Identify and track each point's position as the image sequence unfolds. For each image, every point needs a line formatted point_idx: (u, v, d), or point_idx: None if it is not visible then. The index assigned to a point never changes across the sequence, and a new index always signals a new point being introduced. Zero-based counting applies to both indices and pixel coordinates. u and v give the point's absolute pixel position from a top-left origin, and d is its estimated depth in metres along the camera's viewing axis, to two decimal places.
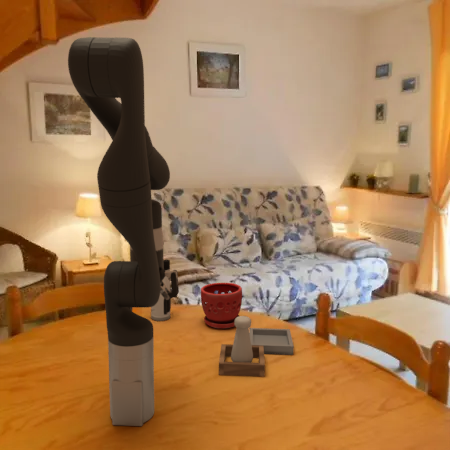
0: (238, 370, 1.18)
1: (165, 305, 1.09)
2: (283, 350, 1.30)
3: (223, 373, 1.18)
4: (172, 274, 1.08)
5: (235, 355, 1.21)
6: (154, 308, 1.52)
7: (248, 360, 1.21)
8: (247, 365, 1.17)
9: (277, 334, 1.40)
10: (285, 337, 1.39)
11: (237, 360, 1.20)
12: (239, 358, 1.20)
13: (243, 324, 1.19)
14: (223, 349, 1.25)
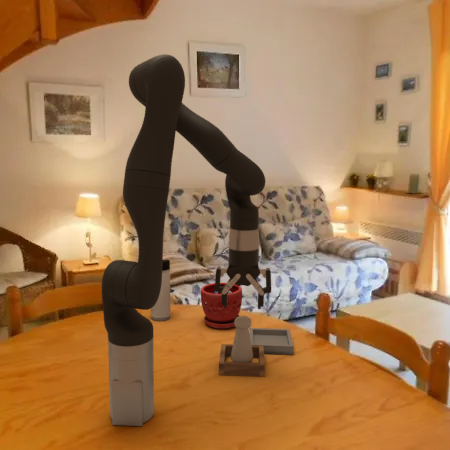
0: (238, 370, 1.18)
1: (259, 300, 1.19)
2: (283, 350, 1.30)
3: (223, 373, 1.18)
4: (267, 271, 1.18)
5: (235, 355, 1.21)
6: (154, 308, 1.52)
7: (248, 360, 1.21)
8: (247, 365, 1.17)
9: (277, 334, 1.40)
10: (285, 337, 1.39)
11: (237, 360, 1.20)
12: (239, 358, 1.20)
13: (243, 324, 1.19)
14: (223, 349, 1.25)
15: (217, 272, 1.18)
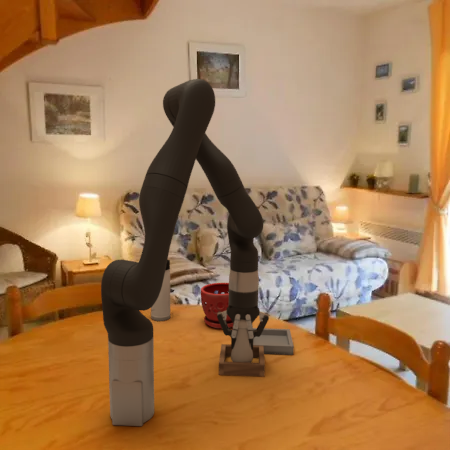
0: (238, 370, 1.18)
1: (249, 343, 1.21)
2: (283, 350, 1.30)
3: (223, 373, 1.18)
4: (266, 317, 1.20)
5: (235, 355, 1.21)
6: (154, 308, 1.52)
7: (248, 360, 1.21)
8: (247, 365, 1.17)
9: (277, 334, 1.40)
10: (285, 337, 1.39)
11: (237, 360, 1.20)
12: (239, 358, 1.20)
13: (243, 324, 1.19)
14: (223, 349, 1.25)
15: (219, 318, 1.20)
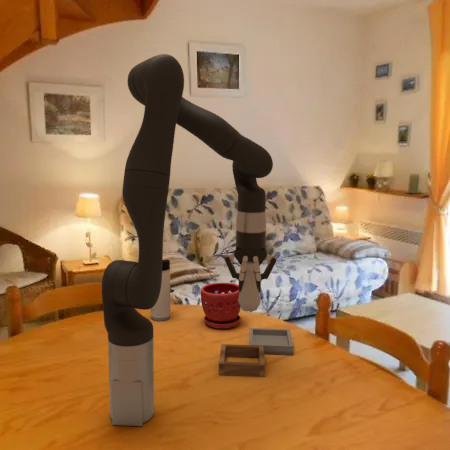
0: (238, 370, 1.18)
1: (257, 286, 1.21)
2: (283, 350, 1.30)
3: (223, 373, 1.18)
4: (273, 259, 1.20)
5: (243, 297, 1.21)
6: (154, 308, 1.52)
7: (256, 303, 1.21)
8: (247, 365, 1.17)
9: (277, 334, 1.40)
10: (285, 337, 1.39)
11: (245, 303, 1.21)
12: (246, 301, 1.20)
13: (250, 266, 1.19)
14: (223, 349, 1.25)
15: (226, 260, 1.20)
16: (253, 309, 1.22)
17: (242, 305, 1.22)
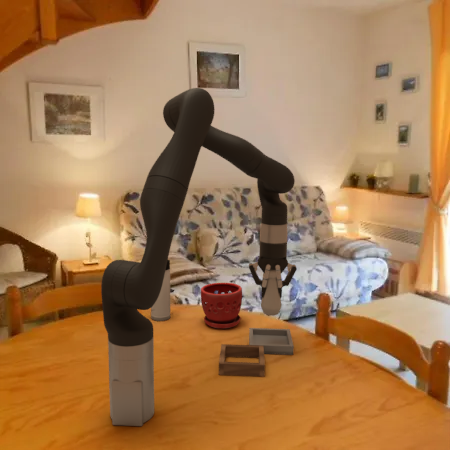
0: (238, 370, 1.18)
1: (278, 292, 1.32)
2: (283, 350, 1.30)
3: (223, 373, 1.18)
4: (294, 267, 1.30)
5: (266, 302, 1.31)
6: (154, 308, 1.52)
7: (277, 307, 1.31)
8: (247, 365, 1.17)
9: (277, 334, 1.40)
10: (285, 337, 1.39)
11: (267, 307, 1.31)
12: (269, 306, 1.31)
13: (273, 274, 1.30)
14: (223, 349, 1.25)
15: (250, 268, 1.31)
16: (275, 313, 1.32)
17: (265, 309, 1.32)
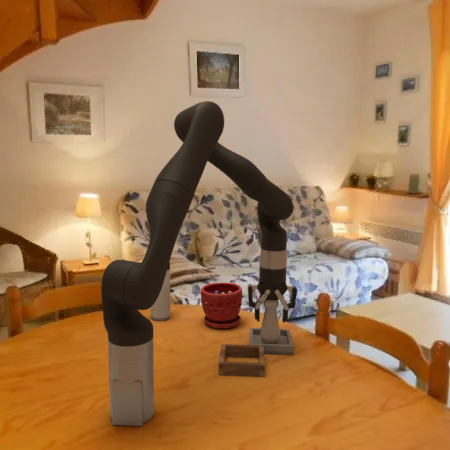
0: (238, 370, 1.18)
1: (284, 314, 1.33)
2: (283, 350, 1.30)
3: (223, 373, 1.18)
4: (294, 289, 1.31)
5: (264, 333, 1.33)
6: (154, 308, 1.52)
7: (276, 337, 1.33)
8: (247, 365, 1.17)
9: None
10: (285, 337, 1.39)
11: (266, 337, 1.33)
12: (268, 336, 1.32)
13: (271, 305, 1.31)
14: (223, 349, 1.25)
15: (249, 289, 1.32)
16: (274, 343, 1.34)
17: (264, 339, 1.34)
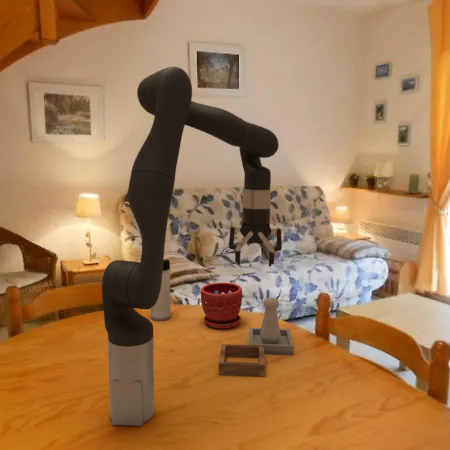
0: (238, 370, 1.18)
1: (270, 257, 1.28)
2: (283, 350, 1.30)
3: (223, 373, 1.18)
4: (278, 230, 1.26)
5: (265, 333, 1.33)
6: (154, 308, 1.52)
7: (276, 337, 1.33)
8: (247, 365, 1.17)
9: None
10: (285, 337, 1.39)
11: (266, 337, 1.33)
12: (268, 336, 1.32)
13: (271, 305, 1.31)
14: (223, 349, 1.25)
15: (231, 230, 1.27)
16: (274, 343, 1.34)
17: (264, 339, 1.34)
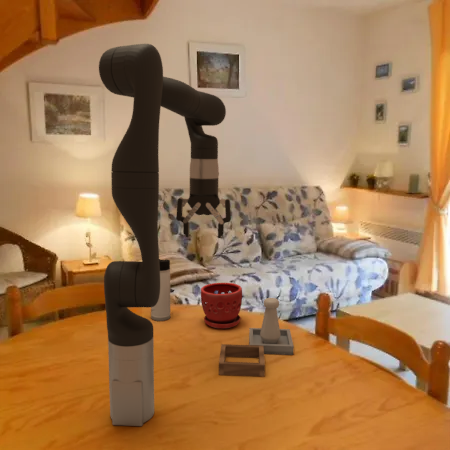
0: (238, 370, 1.18)
1: (219, 229, 1.24)
2: (283, 350, 1.30)
3: (223, 373, 1.18)
4: (226, 201, 1.23)
5: (265, 333, 1.33)
6: (154, 308, 1.52)
7: (276, 337, 1.33)
8: (247, 365, 1.17)
9: None
10: (285, 337, 1.39)
11: (266, 337, 1.33)
12: (268, 336, 1.32)
13: (271, 305, 1.31)
14: (223, 349, 1.25)
15: (178, 201, 1.23)
16: (274, 343, 1.34)
17: (264, 339, 1.34)
